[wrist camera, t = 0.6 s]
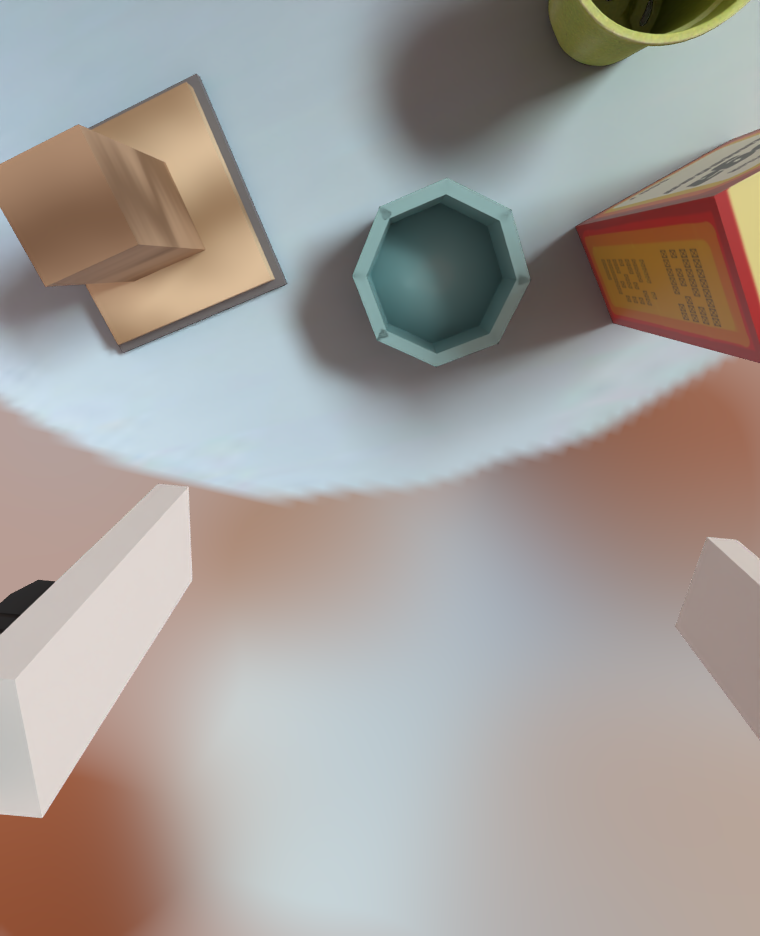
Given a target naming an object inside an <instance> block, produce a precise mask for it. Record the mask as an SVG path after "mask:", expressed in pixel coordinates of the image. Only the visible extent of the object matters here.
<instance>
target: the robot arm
mask: <svg viewBox="0 0 760 936" xmlns="http://www.w3.org/2000/svg"><path fill="white" fill-rule="evenodd" d="M191 581H192V560H191V536H190V514H189V487H186V486H175V485H164V484H157V485H156V486H155V488H153V489H152V490H151V491H150V492H149V493H148V494H147V495H146V496H145V497H144V498H143V499H142V500H141V501H140V502H139V503H138V504H137V505H135V506H134V507H133V508H132V509H131V510H130V511H129V512H128V513H127V514H126V515H125V516H124V517H123V518H122V519H121V520H120V521H119V522H118V523H117V524H116V525H114V527H112V528H111V529H110V530H109V531H108V532H107V533H106V534H105V535H104V536H103V537H102V538H101V539H100V540H99V541H98V542H97V543H96V544H95V545H94V546H93V547H91V548H90V549H89V550H88V551H87V552H86V553H85V554H84V555H83V556H82V557H81V558H80V559H79V560H78V561H77V562H76V563H75V564H74V565H73V566H72V567H71V568H70V569H69V570H68V571H67V572H65V573H64V574H63V576H61V577H60V578H59V579H58V580H57V581H56V582H55V581H43V580H37V581H35V582H34V583H31V584H29V585H27V586H25V587H23V588H22V589H20V590H18V591H16V592H14V593H12V594H10V595H9V596H8V597H7V598H6V599H4V600H3V601H2V602H1V603H0V814H5V815H16V816H27V817H37V818H42V817H43V816H44V814H45V812H46V811H47V810H48V808H49V806H50V805H51V803H52V802H53V800H54V798H55V797H56V795H57V794H58V792H59V791H60V789H61V787H62V786H63V784H64V783H65V781H66V779H67V778H68V776H69V775H70V773H71V771H72V770H73V768H74V767H75V765H76V764H77V762H78V760H79V759H80V757H81V756H82V754H83V752H84V751H85V749H86V748H87V746H88V745H89V743H90V741H91V740H92V738H93V737H94V735H95V734H96V732H97V730H98V729H99V727H100V726H101V724H102V722H103V721H104V719H105V718H106V716H107V714H108V713H109V711H110V710H111V708H112V707H113V705H114V703H115V702H116V700H117V699H118V697H119V695H120V694H121V692H122V691H123V689H124V688H125V686H126V684H127V682H128V681H129V680H130V678H131V676H132V675H133V673H134V671H135V670H136V668H137V667H138V665H139V664H140V662H141V661H142V659H143V657H144V656H145V654H146V652H147V651H148V650H149V648H150V646H151V645H152V643H153V642H154V640H155V638H156V637H157V635H158V634H159V632H160V630H161V629H162V627H163V626H164V624H165V623H166V621H167V619H168V618H169V616H170V615H171V613H172V611H173V610H174V608H175V607H176V605H177V604H178V602H179V600H180V599H181V597H182V595H183V594H184V592H185V591H186V589H187V588H188V586H189V584H190V583H191ZM675 627H676V628H677V630H678V631H679V632H680V634H681V635H682V636H683V638H684V639H685V640H686V642H687V643H688V644H689V646H690V647H691V648H692V650H693V651H694V652H695V654H696V655H697V657H698V658H699V659H700V660H701V662H702V663H703V664H704V666H705V667H706V669H707V670H708V671H709V673H710V674H711V675H712V677H713V678H714V679H715V681H716V682H717V683H718V685H719V686H720V687H721V689H722V690H723V691H724V693H725V694H726V695H727V697H728V698H729V699H730V701H731V702H732V703H733V705H734V706H735V707H736V709H737V710H738V711H739V713H740V714H741V716H742V717H743V718H744V720H745V721H746V722H747V724H748V725H749V726H750V728H751V729H752V730H753V732H754V733H755V734H756V736H757V737H758V738H759V740H760V559H759V558H758V557H757V556H755V555H754V554H753V553H752V552H751V551H750V550H748V549H747V548H746V547H745V546H744V545H742V544H741V543H740V542H739V541H738V540H732V539H722V538H712V537H707V538H706V541H705V544H704V547H703V549H702V552H701V555H700V558H699V561H698V563H697V566H696V569H695V572H694V575H693V578H692V580H691V583H690V586H689V589H688V592H687V594H686V597H685V600H684V603H683V605H682V608H681V611H680V614H679V617H678V620H677V622H676V625H675Z"/></svg>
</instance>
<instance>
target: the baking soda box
mask: <svg viewBox="0 0 760 936" xmlns="http://www.w3.org/2000/svg"><path fill="white" fill-rule="evenodd" d="M575 227H576V229H577V232H578V234H579V237H580V240H581V242H582V245H583V247H584V250H585V252H586V255H587V257H588V260H589V263H590V265H591V268H592V270H593V273H594V275H595V278H596V280H597V283H598V285H599V288H600V291H601V293H602V296H603V298H604V301H605V303H606V306H607V308H608V311H609V314H610V316H611V319H612V321H613V323H615V324H618V325H622V326H626V327H629V328H633V329H637V330H640V331H644V332H648V333H651V334H655V335H659V336H662V337H666V338H670V339H673V340H677V341H681V342H684V343H688V344H692V345H695V346H699V347H703V348H706V349H710V350H714V351H717V352H721V353H725V354H728V355H732V356H736V357H739V358H743V359H747V360H750V361H754V362H758V363H760V129H758V130H756V131H753V132H750V133H748V134H745V135H742V136H740V137H737V138H734V139H732V140H730V141H728V142H726V143H724V144H723V145H721V146H719V147H717V148H715V149H714V150H712V151H710V152H708V153H706V154H705V155H703V156H701V157H699V158H697V159H696V160H694V161H692V162H690V163H688V164H687V165H685V166H683V167H681V168H679V169H678V170H676V171H674V172H672V173H670V174H669V175H667V176H665V177H663V178H662V179H660V180H658V181H656V182H654V183H653V184H651V185H649V186H647V187H645V188H644V189H642V190H640V191H638V192H636V193H635V194H633V195H631V196H629V197H627V198H626V199H624V200H622V201H620V202H618V203H617V204H615V205H613V206H611V207H609V208H608V209H606V210H604V211H602V212H600V213H599V214H597V215H595V216H593V217H591V218H590V219H588V220H586V221H584V222H582V223H581V224H579V225H577V226H575Z"/></svg>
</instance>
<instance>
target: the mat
mask: <svg viewBox="0 0 760 936" xmlns="http://www.w3.org/2000/svg"><path fill="white" fill-rule="evenodd" d="M185 82H187V83H188V84H189V85H190V86H192V87H193V89H194V92H195V94H196V96H197V99H198V101H199V103H200V106H201V108H202V110H203V113H204V115H205V117H206V120H207V122H208V124H209V127H210V129H211V131H212V134H213V136H214V138H215V141H216V143H217V145H218V148H219V150H220V152H221V155H222V157H223V159H224V162H225V164H226V166H227V168H228V171H229V173H230V175H231V178H232V180H233V182H234V185H235V187H236V189H237V192H238V194H239V196H240V199H241V201H242V203H243V206H244V208H245V210H246V213H247V215H248V217H249V220H250V222H251V224H252V227H253V229H254V231H255V234H256V236H257V238H258V241H259V243H260V245H261V248H262V250H263V252H264V255H265V257H266V259H267V262H268V264H269V266H270V269H271V271H272V273H273V276H274V278H275V279H274V280H272V281H270V282H267V283H265V284H263V285H260V286H258V287H255V288H253V289H251V290H248V291H246V292H244V293H241V294H239V295H237V296H234V297H232V298H230V299H227V300H225V301H223V302H220V303H218V304H216V305H213V306H211V307H208V308H206V309H204V310H201V311H199V312H197V313H194V314H192V315H190V316H187V317H185V318H183V319H180V320H178V321H176V322H173V323H171V324H168V325H166V326H164V327H161V328H159V329H157V330H154V331H152V332H150V333H147V334H145V335H143V336H140V337H138V338H136V339H133V340H131V341H128V342H126V343H123V344H119V347H120V349H121V350H122V352H126V351H129V350H131V349H134V348H136V347H138V346H141V345H143V344H146V343H148V342H150V341H153V340H155V339H157V338H160V337H162V336H165V335H167V334H169V333H172V332H174V331H176V330H179V329H181V328H183V327H186V326H188V325H191V324H193V323H195V322H198V321H200V320H202V319H205V318H207V317H210V316H212V315H214V314H217V313H219V312H221V311H224V310H226V309H229V308H231V307H233V306H236V305H238V304H240V303H243V302H245V301H247V300H250V299H252V298H255V297H257V296H259V295H262V294H264V293H266V292H269V291H271V290H274V289H276V288H278V287H281V286H283V285H285V284H287V282H286V279H285V277H284V275H283V272H282V270H281V268H280V265H279V263H278V260H277V258H276V256H275V253H274V251H273V249H272V246H271V244H270V242H269V239H268V237H267V234H266V232H265V230H264V227H263V225H262V223H261V220H260V218H259V215H258V213H257V211H256V208H255V206H254V204H253V201H252V199H251V197H250V194H249V192H248V189H247V187H246V185H245V182H244V180H243V178H242V175H241V173H240V171H239V168H238V166H237V163H236V161H235V159H234V156H233V154H232V152H231V149H230V147H229V145H228V142H227V140H226V137H225V135H224V133H223V130H222V128H221V126H220V123H219V121H218V119H217V116H216V114H215V111H214V109H213V107H212V104H211V102H210V100H209V97H208V95H207V93H206V90H205V88H204V85H203V83H202V81H201V78H200V77H199V76H198V75H197V74H195V75H193V76H191V77H189V78H187V79H185V80H183V81H181V82H179V83H177V84H175V85H173V86H171V87H169V88H167V89H165V90H163V91H161V92H159V93H157V94H155V95H153V96H151V97H149V98H147V99H145V100H143V101H141V102H139V103H137V104H135V105H133V106H131V107H129V108H127V109H125V110H123V111H121V112H120V113H118V114H116V115H114V116H112V117H110V118H108V119H106V120H104V121H102V122H100V123H98V124H96V125H94V126H92V127H90V128H88V129H90V130H92V129H94V128H96V127H98V126H100V125H101V124H103V123H105V122H107V121H109V120H111V119H113V118H115V117H117V116H119V115H121V114H123V113H125V112H127V111H129V110H131V109H133V108H135V107H137V106H139V105H141V104H143V103H145V102H147V101H149V100H151V99H153V98H155V97H157V96H159V95H161V94H163V93H165V92H167V91H169V90H171V89H173V88H175V87H177V86H179V85H181V84H183V83H185Z"/></svg>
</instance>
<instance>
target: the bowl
mask: <svg viewBox="0 0 760 936" xmlns="http://www.w3.org/2000/svg"><path fill="white" fill-rule="evenodd" d="M352 277H353V279H354V281H355V284H356V287H357V289H358V292H359V295H360V297H361V300H362V302H363V305H364V308H365V310H366V313H367V315H368V318H369V321H370V323H371V326H372V328H373V331H374V334H375V336H376V339H377V341H380V342H382V343H384V344H386V345H388V346H391V347H393V348H395V349H397V350H400V351H402V352H404V353H406V354H408V355H411V356H413V357H415V358H417V359H419V360H422V361H424V362H426V363H428V364H430V365H433V366H435V367H437V366H440V365H443V364H445V363H448V362H451V361H453V360H456V359H459V358H461V357H464V356H467V355H469V354H472V353H475V352H477V351H480V350H482V349H485V348H488V347H490V346H493V345H496V344H498V343H499V341H500V339H501V337H502V335H503V333H504V331H505V329H506V327H507V325H508V323H509V322H510V320H511V318H512V316H513V314H514V312H515V310H516V308H517V306H518V304H519V302H520V300H521V298H522V296H523V294H524V292H525V290H526V288H527V286H528V284H529V282H530V281H531V279H530V275H529V272H528V268H527V265H526V261H525V257H524V254H523V250H522V247H521V243H520V240H519V236H518V232H517V229H516V225H515V222H514V218H513V214H512V210H511V209H509V208H507V207H505V206H503V205H501V204H499V203H497V202H495V201H493V200H491V199H489V198H487V197H485V196H483V195H481V194H479V193H477V192H475V191H473V190H471V189H469V188H467V187H465V186H463V185H461V184H459V183H457V182H455V181H452V180H450V179H448V178H445V179H443V180H441V181H438V182H436V183H434V184H431V185H429V186H427V187H424V188H422V189H420V190H418V191H415V192H413V193H411V194H408V195H406V196H404V197H401V198H399V199H397V200H395V201H392V202H390V203H388V204H385V205H383V206H381V207H379V210H378V212H377V215H376V217H375V220H374V222H373V225H372V227H371V230H370V232H369V235H368V238H367V240H366V243H365V245H364V248H363V250H362V253H361V255H360V258H359V260H358V263H357V265H356V268H355V270H354V273H353V275H352Z"/></svg>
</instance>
